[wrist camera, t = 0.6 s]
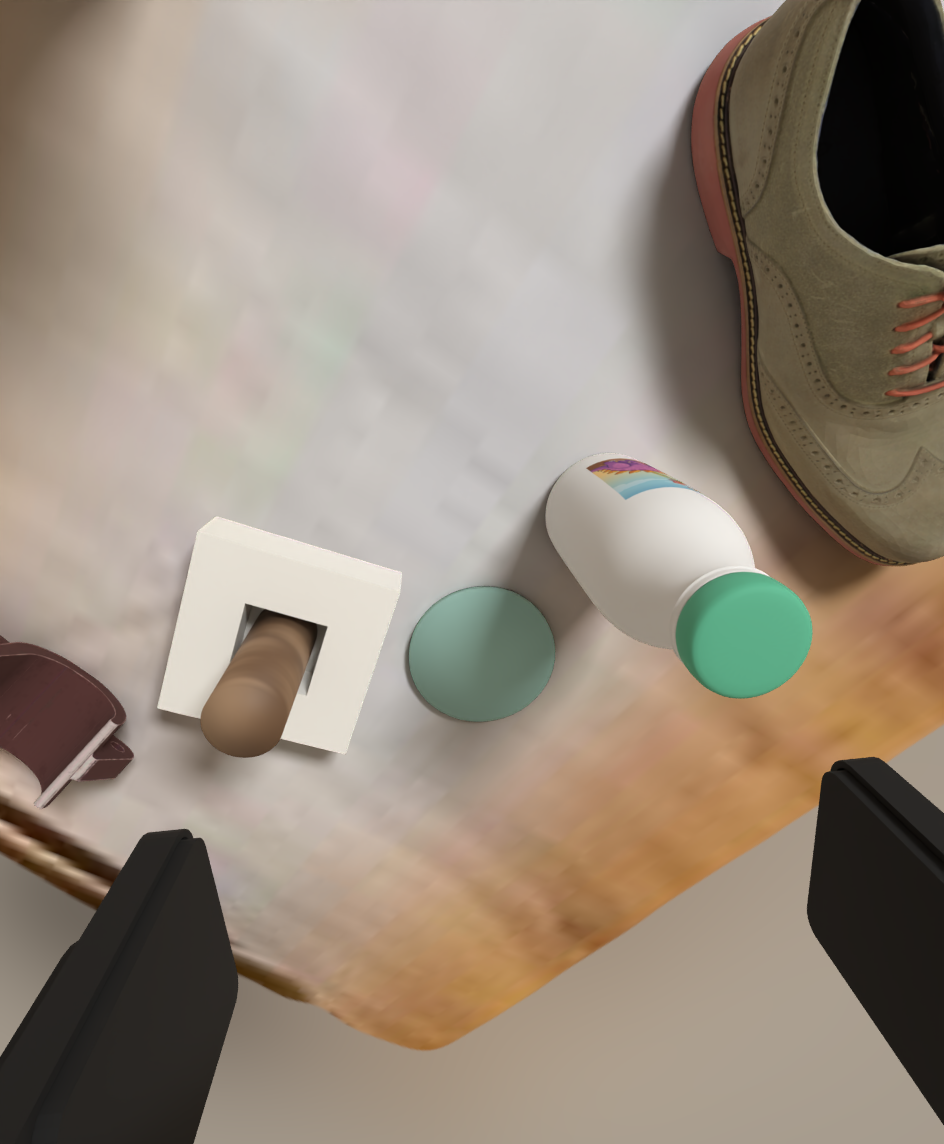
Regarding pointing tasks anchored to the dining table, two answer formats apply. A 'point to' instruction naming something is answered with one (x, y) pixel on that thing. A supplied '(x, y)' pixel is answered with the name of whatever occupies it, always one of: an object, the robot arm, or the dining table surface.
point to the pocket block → (292, 587)
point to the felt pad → (481, 654)
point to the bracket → (58, 719)
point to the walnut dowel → (259, 686)
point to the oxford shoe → (838, 257)
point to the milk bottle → (676, 574)
